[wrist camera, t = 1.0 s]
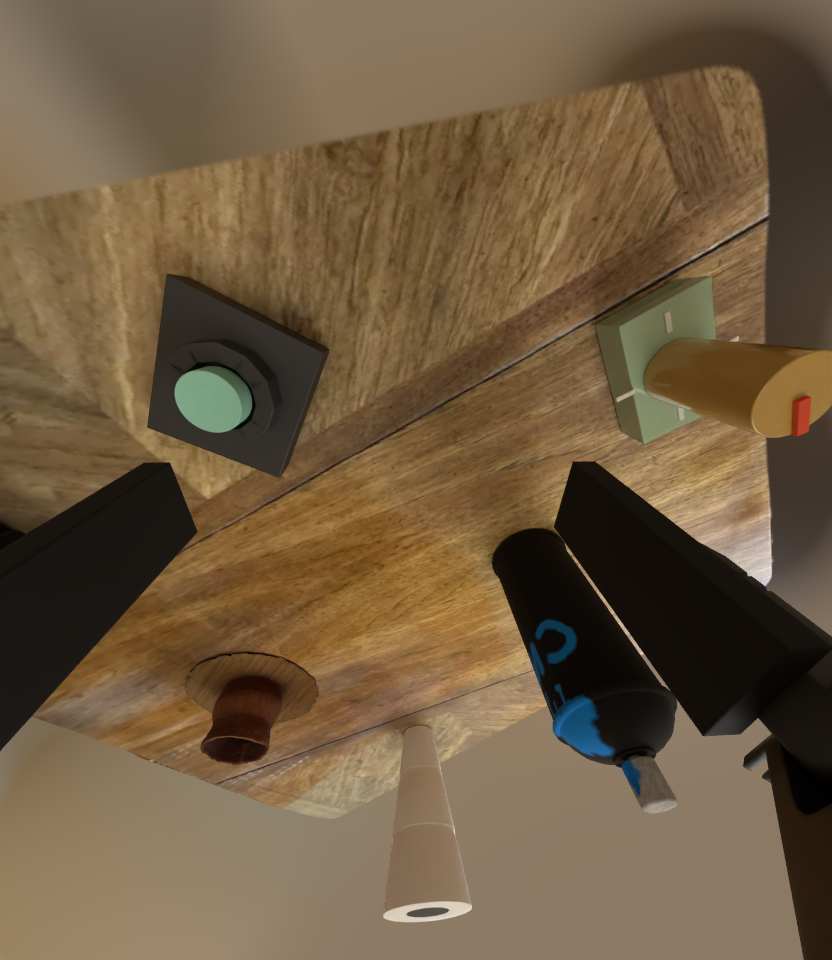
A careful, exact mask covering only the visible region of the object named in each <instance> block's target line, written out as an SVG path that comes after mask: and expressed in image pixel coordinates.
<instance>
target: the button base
mask: <svg viewBox="0 0 832 960" xmlns="http://www.w3.org/2000/svg"><path fill="white" fill-rule="evenodd" d="M328 353H329V349H328V348H326V347H324V346H322V345H320V344H318V343H316V342H314V341H312V340H310V339H308V338H306V337H304V336H302V335H300V334H298V333H296V332H294V331H292V330H291V329H289V328H287V327H285V326H283V325H281V324H279V323H277V322H275V321H273V320H271V319H269V318H267V317H265V316H263V315H261V314H259V313H257V312H255V311H253V310H251V309H249V308H248V307H246V306H244V305H242V304H240V303H238V302H236V301H234V300H232V299H230V298H228V297H226V296H224V295H222V294H220V293H218V292H216V291H214V290H212V289H210V288H208V287H206V286H204V285H203V284H201V283H199V282H197V281H195V280H193V279H191V278H189V277H184V276H178V275H172V274H167V277H166V284H165V292H164V300H163V308H162V316H161V324H160V332H159V339H158V347H157V355H156V363H155V371H154V379H153V386H152V394H151V402H150V410H149V418H148V426H147V427H148V428H150V429H153V430H155V431H158V432H161V433H163V434H166V435H169V436H171V437H174V438H176V439H179V440H182V441H184V442H187V443H190V444H192V445H195V446H197V447H200V448H203V449H205V450H208V451H211V452H213V453H216V454H218V455H221V456H224V457H226V458H229V459H231V460H234V461H237V462H239V463H242V464H245V465H247V466H250V467H252V468H255V469H258V470H260V471H263V472H266V473H268V474H271V475H273V476H276V477H280V476H281V475H282V473H283V472H284V471H285V469H286V468H287V466H288V464H289V461H290V458H291V455H292V452H293V450H294V447H295V444H296V441H297V439H298V436H299V433H300V430H301V427H302V425H303V422H304V419H305V416H306V414H307V411H308V408H309V405H310V403H311V400H312V397H313V394H314V391H315V389H316V386H317V383H318V380H319V378H320V375H321V372H322V369H323V367H324V364H325V361H326V358H327V355H328ZM207 366H219V367H223V368H226V369H228V370H230V371H232V372H233V373H235V374H236V375H238V376H239V377H240V378H241V379H242V380H243V381H244V382H245V384H246V385H247V387H248V389H249V391H250V393H251V396H252V410H251V413H250V414H249V416H248V417H247V418H246V419H245V420H244V421H243V422H241V423H240V424H239V425H237V426H236V427H234V428H233V429H231V430H229V431H226V432H221V433H215V432H209V431H205V430H203V429H200V428H198V427H197V426H195V425H193V424H192V423H191V422H190V421H188V420H187V419H186V418H185V417H184V415H183V414H182V413H181V411H180V410H179V408H178V406H177V403H176V400H175V386H176V383H177V381H178V380H179V378H180V377H181V376H182V375H184V374H185V373H187V372H190V371H193V370H196V369H200V368H203V367H207Z"/></svg>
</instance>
